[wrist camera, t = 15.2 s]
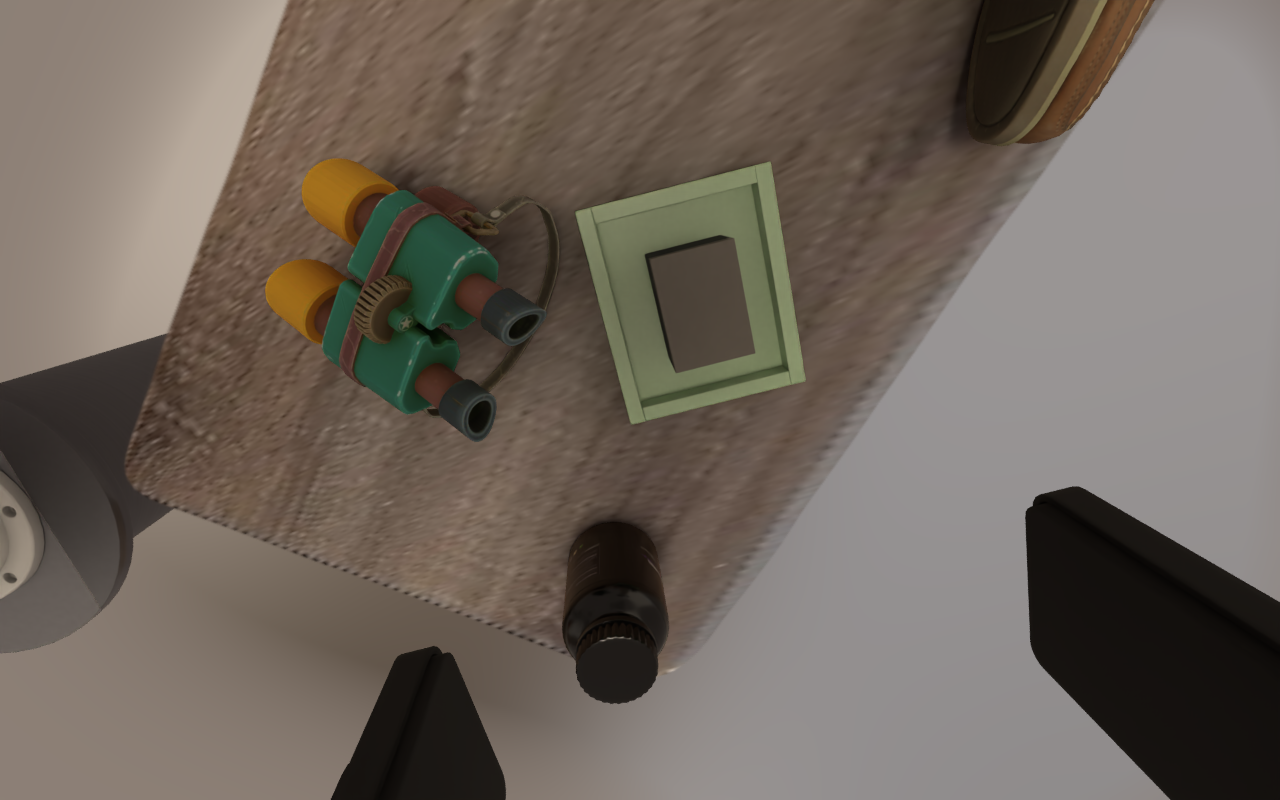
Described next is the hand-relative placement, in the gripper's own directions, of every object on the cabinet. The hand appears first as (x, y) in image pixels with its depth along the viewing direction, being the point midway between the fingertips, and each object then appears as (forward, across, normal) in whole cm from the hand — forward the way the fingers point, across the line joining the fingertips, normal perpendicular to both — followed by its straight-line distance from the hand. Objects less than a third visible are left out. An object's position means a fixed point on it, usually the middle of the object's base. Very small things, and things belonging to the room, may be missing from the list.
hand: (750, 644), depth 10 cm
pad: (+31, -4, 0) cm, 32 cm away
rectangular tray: (+32, -4, 0) cm, 33 cm away
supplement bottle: (+32, +6, +18) cm, 38 cm away
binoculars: (+32, +11, -5) cm, 35 cm away
